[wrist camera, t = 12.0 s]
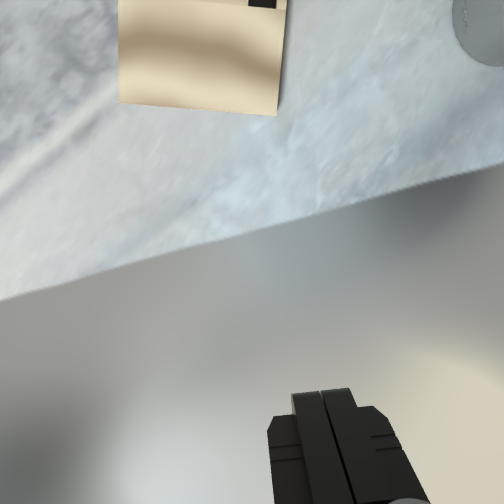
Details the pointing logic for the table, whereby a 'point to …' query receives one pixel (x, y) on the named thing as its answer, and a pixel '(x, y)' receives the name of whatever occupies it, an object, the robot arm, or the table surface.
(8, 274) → the table surface
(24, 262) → the table surface
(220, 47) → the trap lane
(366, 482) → the robot arm
